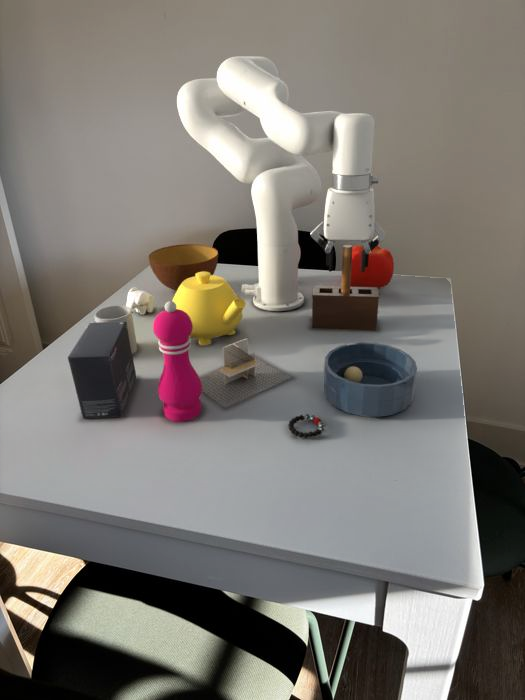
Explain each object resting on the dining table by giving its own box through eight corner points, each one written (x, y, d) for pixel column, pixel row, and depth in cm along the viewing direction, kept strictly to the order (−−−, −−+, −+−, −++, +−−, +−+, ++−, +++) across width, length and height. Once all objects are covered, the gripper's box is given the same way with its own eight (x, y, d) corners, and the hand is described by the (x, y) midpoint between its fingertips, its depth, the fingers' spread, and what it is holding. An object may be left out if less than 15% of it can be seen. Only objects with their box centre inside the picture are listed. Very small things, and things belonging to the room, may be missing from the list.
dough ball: (343, 387, 92) (344, 371, 90) (343, 378, 95) (344, 362, 93) (362, 388, 91) (363, 372, 90) (361, 379, 94) (362, 363, 93)
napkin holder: (260, 379, 96) (259, 344, 93) (230, 393, 93) (228, 356, 89) (249, 372, 99) (247, 337, 95) (219, 385, 95) (216, 349, 92)
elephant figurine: (121, 313, 126) (117, 289, 123) (150, 304, 130) (147, 281, 128) (134, 321, 121) (130, 297, 118) (164, 312, 126) (161, 288, 123)
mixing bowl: (322, 417, 85) (323, 384, 82) (324, 371, 99) (325, 340, 96) (417, 423, 83) (422, 388, 80) (407, 375, 97) (410, 344, 94)
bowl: (139, 294, 136) (133, 257, 131) (184, 275, 149) (181, 240, 144) (189, 308, 127) (185, 269, 122) (233, 286, 140) (231, 250, 135)
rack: (376, 331, 114) (379, 296, 110) (311, 328, 115) (312, 295, 112) (374, 320, 118) (377, 287, 115) (313, 318, 120) (313, 285, 116)
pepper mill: (163, 401, 91) (148, 294, 82) (204, 398, 91) (194, 291, 82) (159, 425, 85) (142, 312, 75) (203, 422, 85) (193, 309, 76)
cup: (142, 353, 107) (136, 313, 103) (94, 367, 102) (86, 326, 98) (129, 340, 112) (123, 302, 108) (83, 353, 107) (75, 314, 103)
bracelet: (331, 431, 82) (331, 426, 81) (301, 444, 79) (301, 438, 79) (310, 414, 86) (310, 409, 86) (281, 425, 83) (281, 420, 83)
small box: (100, 379, 98) (89, 321, 93) (137, 377, 98) (127, 319, 93) (80, 419, 87) (66, 356, 81) (122, 418, 87) (110, 354, 81)
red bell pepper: (382, 299, 129) (386, 258, 124) (333, 291, 135) (334, 251, 130) (398, 282, 139) (402, 244, 134) (352, 275, 145) (354, 238, 140)
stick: (339, 326, 116) (342, 247, 108) (339, 322, 118) (342, 244, 110) (348, 326, 116) (352, 247, 107) (348, 322, 118) (352, 244, 109)
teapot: (271, 338, 112) (270, 277, 105) (214, 363, 102) (209, 298, 96) (213, 312, 125) (209, 256, 118) (158, 332, 115) (150, 273, 109)
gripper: (394, 179, 105) (386, 265, 113) (308, 179, 107) (306, 263, 115) (397, 186, 98) (389, 276, 106) (306, 186, 100) (304, 275, 109)
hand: (346, 269), depth 111 cm, fingers open, 6 cm apart
